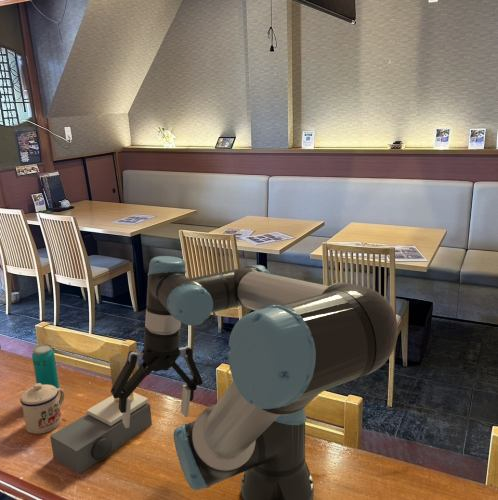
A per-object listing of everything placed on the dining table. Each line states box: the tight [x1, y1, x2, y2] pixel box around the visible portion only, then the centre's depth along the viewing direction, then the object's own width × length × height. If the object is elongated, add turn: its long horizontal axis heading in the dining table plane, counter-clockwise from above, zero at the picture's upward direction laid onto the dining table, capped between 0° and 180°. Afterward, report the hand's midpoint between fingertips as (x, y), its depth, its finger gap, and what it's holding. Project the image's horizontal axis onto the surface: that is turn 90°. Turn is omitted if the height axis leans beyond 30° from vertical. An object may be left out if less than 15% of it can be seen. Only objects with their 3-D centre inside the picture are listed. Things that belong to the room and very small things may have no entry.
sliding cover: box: [86, 353, 149, 426], centre depth 125 cm, size 12×9×13 cm
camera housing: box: [49, 402, 153, 475], centre depth 124 cm, size 22×11×6 cm, turn 144°
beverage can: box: [31, 344, 60, 394], centre depth 143 cm, size 6×6×15 cm
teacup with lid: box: [19, 383, 66, 435], centre depth 132 cm, size 12×9×12 cm
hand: (155, 419), depth 112 cm, fingers open, 13 cm apart
